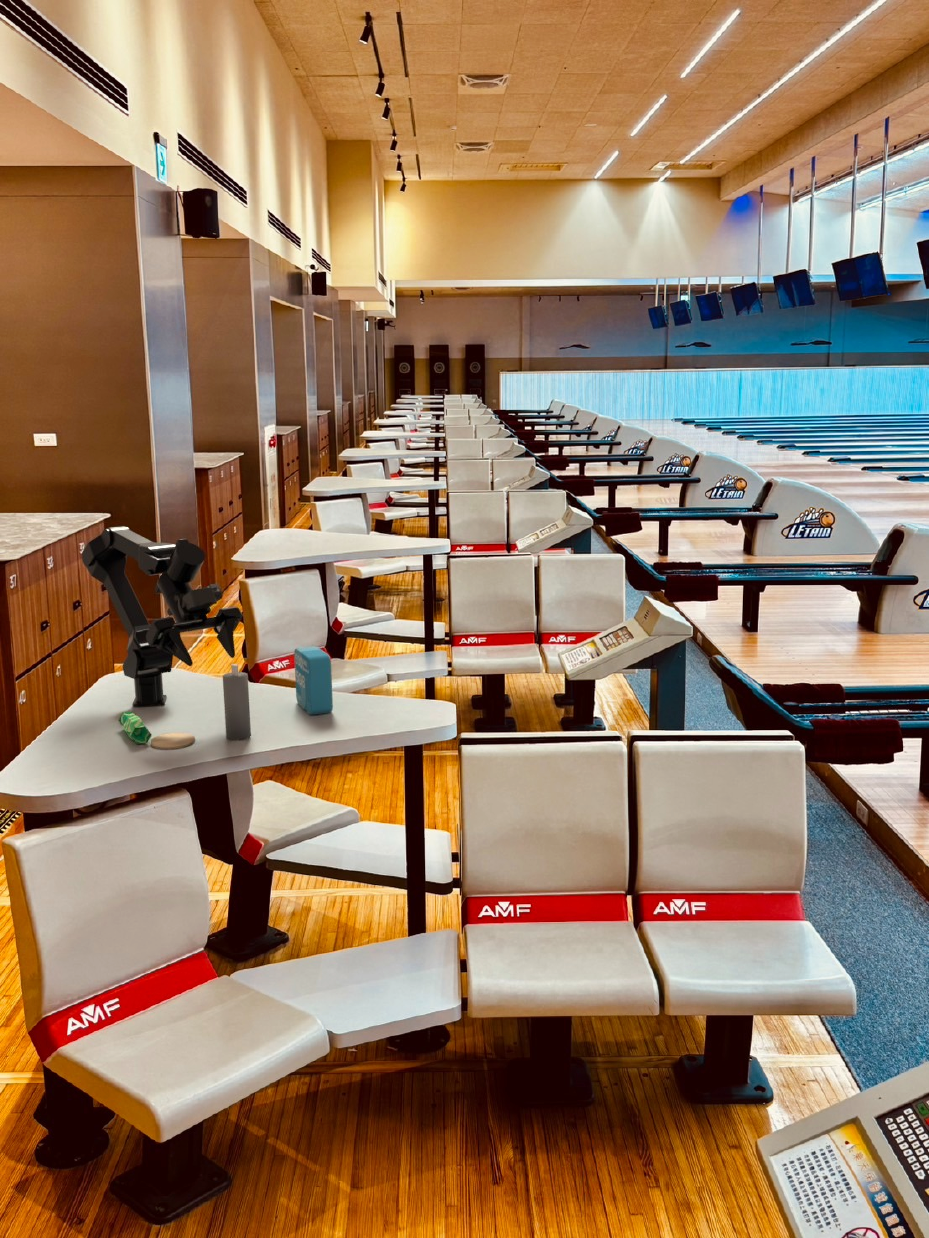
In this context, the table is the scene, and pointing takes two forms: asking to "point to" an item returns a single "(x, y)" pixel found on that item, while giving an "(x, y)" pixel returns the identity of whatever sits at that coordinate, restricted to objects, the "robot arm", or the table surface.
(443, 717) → the table surface
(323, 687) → the data package
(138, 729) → the candy
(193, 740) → the cork coaster
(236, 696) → the charcoal plug
